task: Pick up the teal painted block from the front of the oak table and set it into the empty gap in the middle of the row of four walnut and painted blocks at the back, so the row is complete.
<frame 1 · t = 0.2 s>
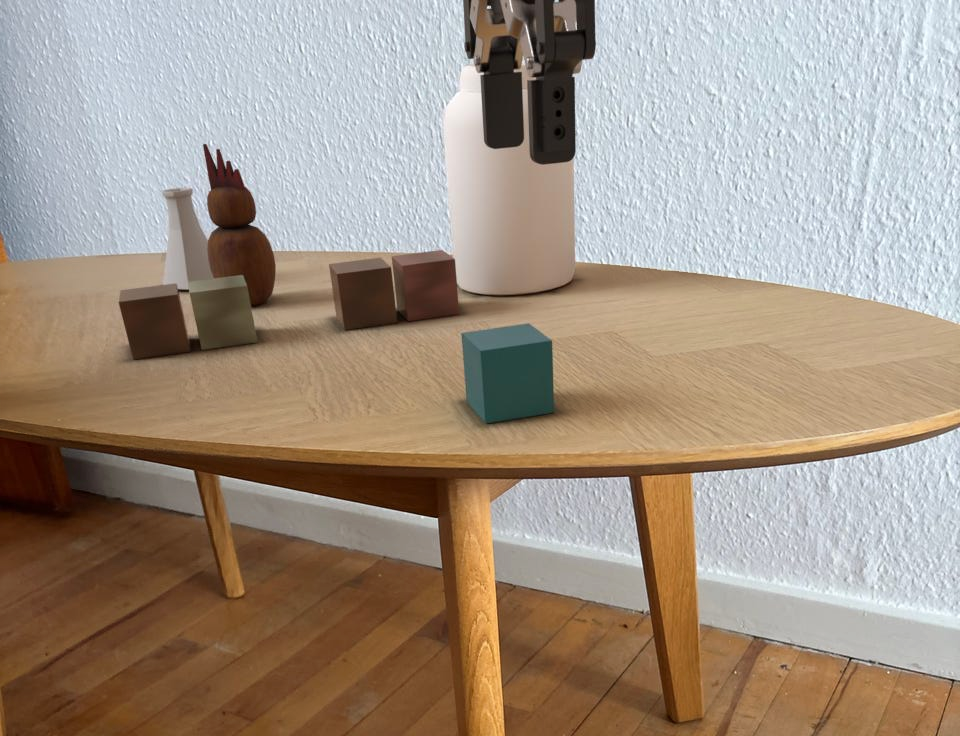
hand: (527, 154, 53), 17 cm above the table, tool pointing down, fingers open, 8 cm apart
block row: (298, 329, 93), on the table
white jar: (515, 284, 103), on the table
teal block: (509, 407, 70), on the table
wooden figurine: (249, 304, 104), on the table
flask: (197, 286, 114), on the table
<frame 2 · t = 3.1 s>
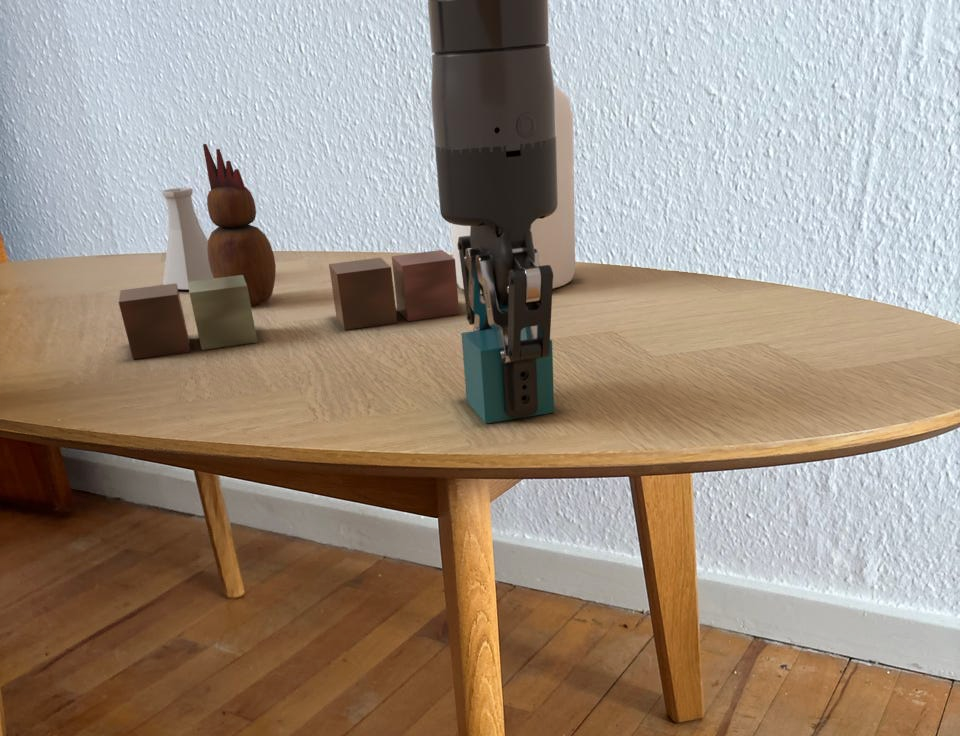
hand: (509, 401, 70), 0 cm above the table, tool pointing down, fingers closed on teal block, 5 cm apart
teal block: (509, 407, 70), on the table, touching gripper
everything else where it was.
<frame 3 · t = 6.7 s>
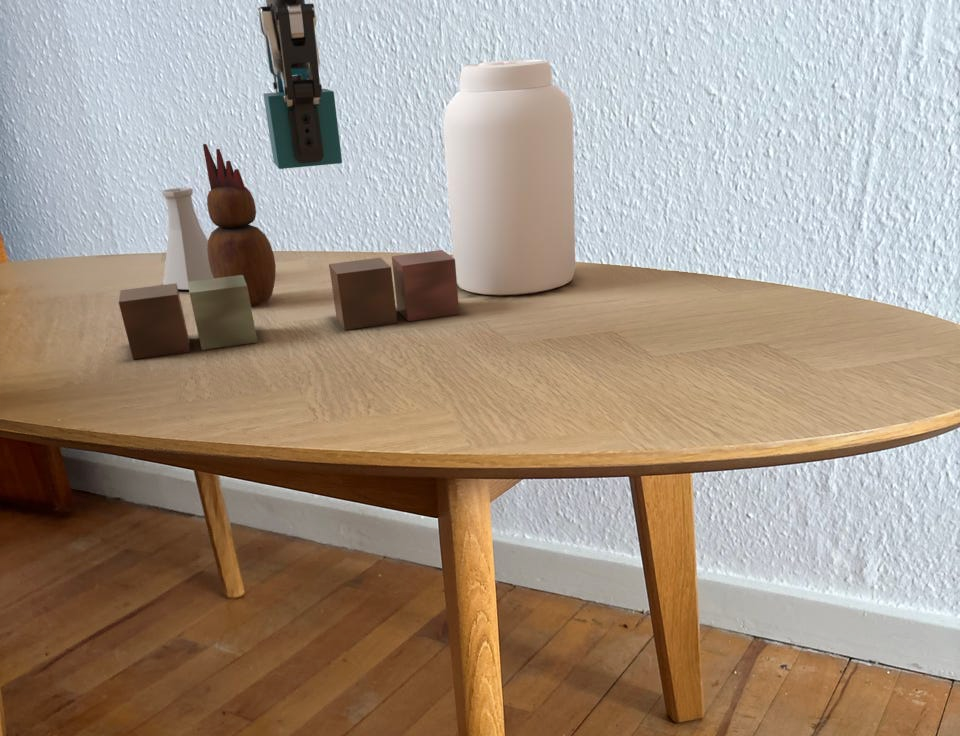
hand: (305, 157, 80), 15 cm above the table, tool pointing down, fingers closed on teal block, 5 cm apart
teal block: (307, 163, 80), point 15 cm above the table, touching gripper
everything else where it was.
when the fingers open (0 cm above the table, at t = 10.4 s): teal block stays where it is, on the table.
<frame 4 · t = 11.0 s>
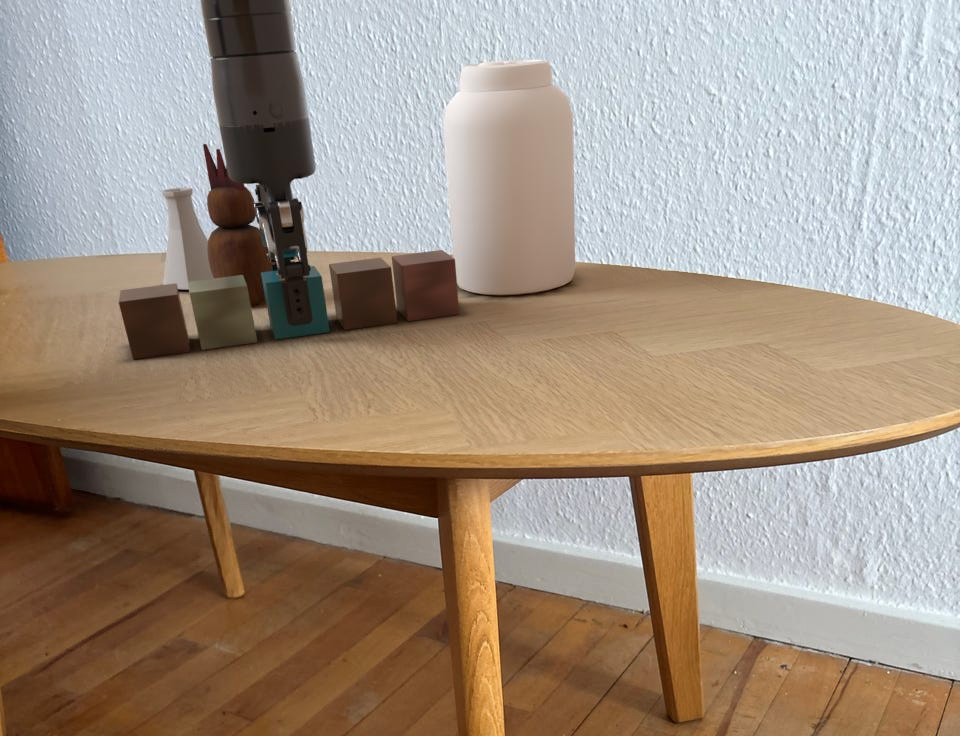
hand: (295, 313, 92), 2 cm above the table, tool pointing down, fingers open, 8 cm apart
teal block: (299, 329, 93), on the table
everything else where it was.
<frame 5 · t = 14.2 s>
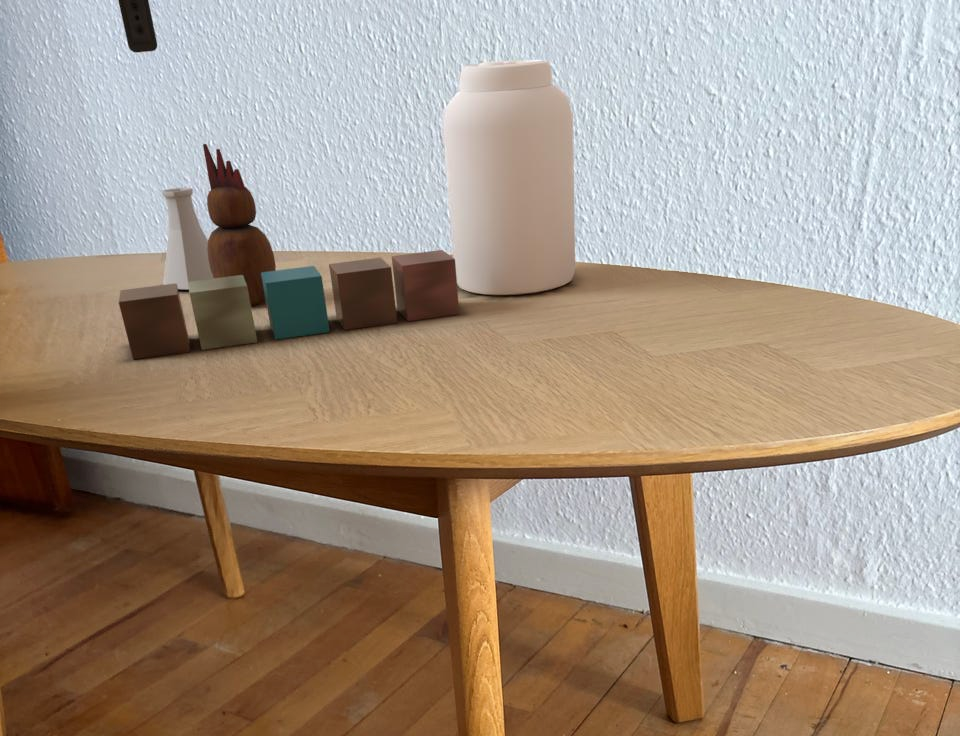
hand: (144, 51, 82), 23 cm above the table, tool pointing down, fingers open, 8 cm apart
nothing on the table moved.
at the end: teal block 0.1 cm off-centre on the block row, point 0.0 cm above the block row's base; teal block tilted 0°; the gripper is holding nothing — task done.
